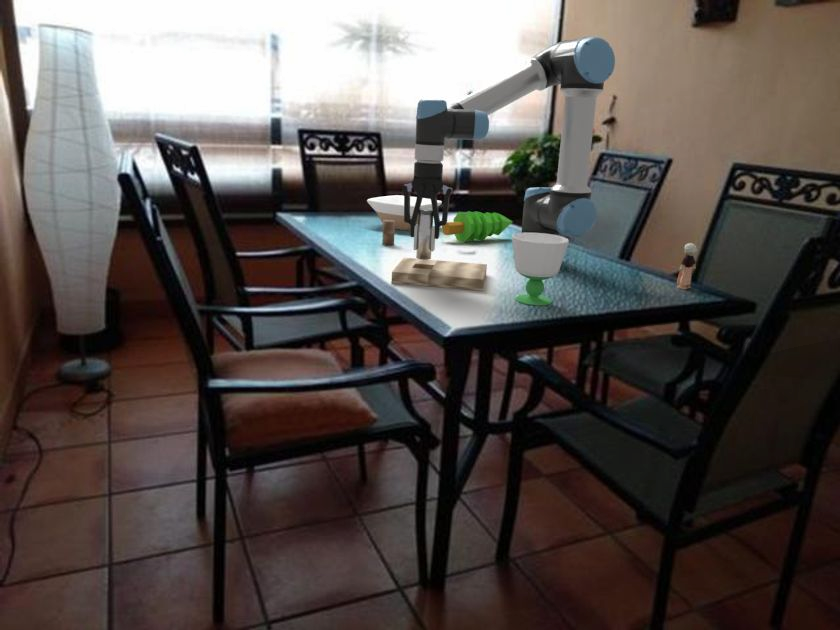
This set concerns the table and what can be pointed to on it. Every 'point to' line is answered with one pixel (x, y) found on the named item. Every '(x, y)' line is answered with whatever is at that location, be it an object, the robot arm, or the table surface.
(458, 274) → the board
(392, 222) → the walnut dowel
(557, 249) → the cup
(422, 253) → the pin
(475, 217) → the decorative tree
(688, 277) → the grandmother figurine
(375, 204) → the bowl
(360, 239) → the table surface
